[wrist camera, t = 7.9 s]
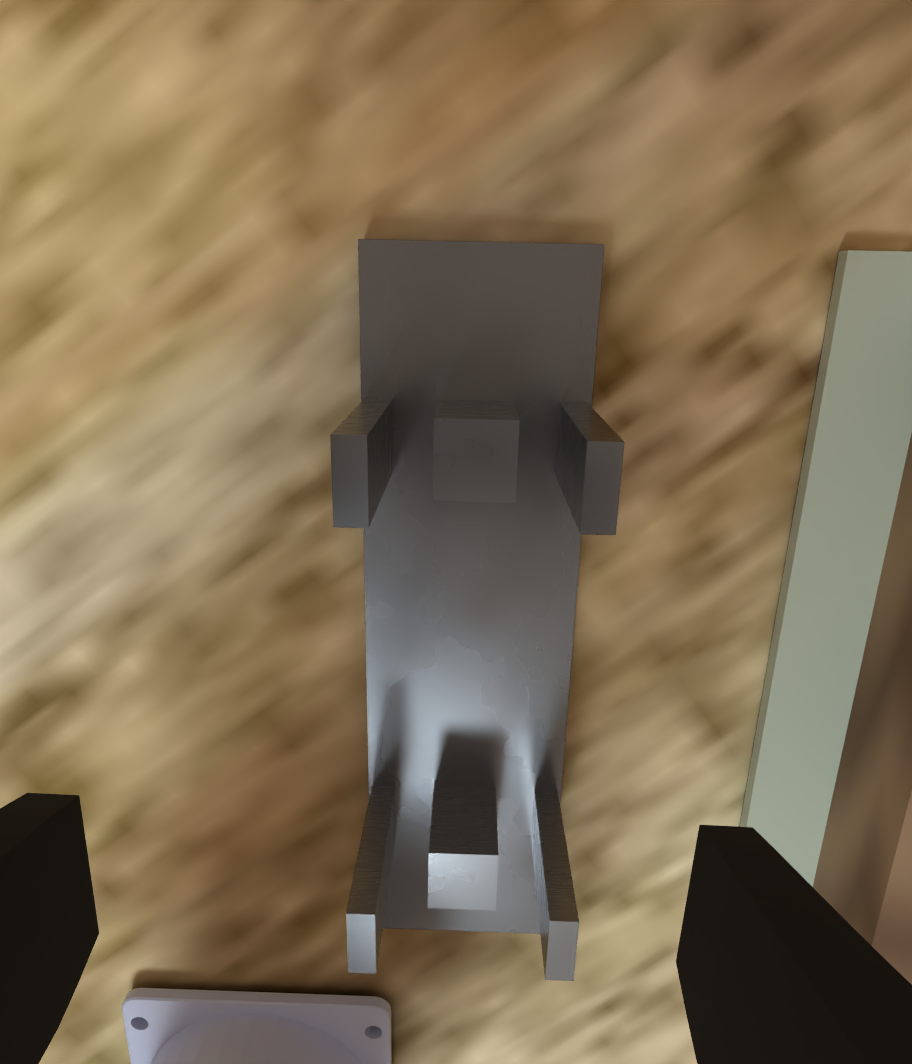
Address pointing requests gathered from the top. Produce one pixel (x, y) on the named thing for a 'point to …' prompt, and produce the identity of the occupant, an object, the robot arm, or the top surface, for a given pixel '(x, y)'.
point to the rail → (878, 767)
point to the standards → (471, 578)
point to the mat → (834, 552)
